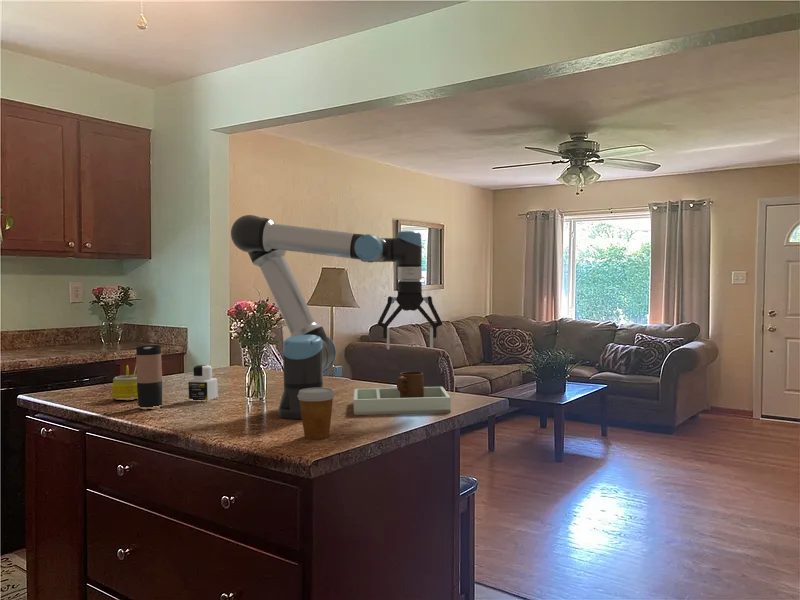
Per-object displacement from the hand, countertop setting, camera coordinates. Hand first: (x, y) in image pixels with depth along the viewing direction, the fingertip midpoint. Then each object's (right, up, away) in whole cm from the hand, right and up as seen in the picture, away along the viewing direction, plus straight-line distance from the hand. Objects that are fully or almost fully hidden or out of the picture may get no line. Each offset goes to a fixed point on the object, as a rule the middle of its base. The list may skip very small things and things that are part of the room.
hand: (409, 348), depth 204 cm
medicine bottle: (-70, -19, +19) cm, 75 cm away
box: (-3, -18, 0) cm, 19 cm away
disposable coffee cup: (-24, -20, -37) cm, 49 cm away
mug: (0, -18, 0) cm, 18 cm away
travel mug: (-84, -20, +6) cm, 86 cm away
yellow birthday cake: (-98, -20, +24) cm, 103 cm away
